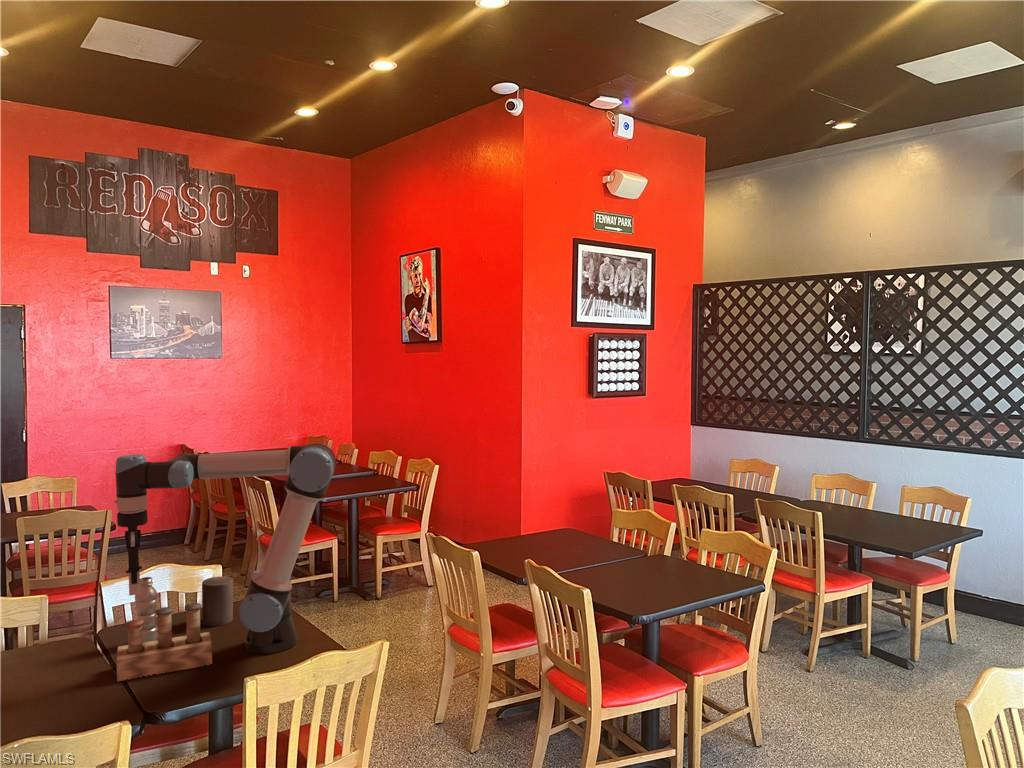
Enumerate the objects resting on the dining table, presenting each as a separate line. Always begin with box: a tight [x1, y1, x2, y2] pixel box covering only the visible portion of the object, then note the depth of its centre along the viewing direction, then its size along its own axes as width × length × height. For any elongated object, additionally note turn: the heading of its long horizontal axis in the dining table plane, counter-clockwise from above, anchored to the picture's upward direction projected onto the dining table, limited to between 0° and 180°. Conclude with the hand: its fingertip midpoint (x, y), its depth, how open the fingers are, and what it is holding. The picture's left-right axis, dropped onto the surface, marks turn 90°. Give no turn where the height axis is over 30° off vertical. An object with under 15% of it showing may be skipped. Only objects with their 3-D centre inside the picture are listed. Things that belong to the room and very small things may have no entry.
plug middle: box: [156, 606, 174, 649], centre depth 207 cm, size 4×4×11 cm
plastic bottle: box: [134, 576, 158, 642], centre depth 224 cm, size 6×7×20 cm
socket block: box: [116, 631, 213, 682], centre depth 207 cm, size 24×10×6 cm, turn 117°
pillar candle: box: [201, 575, 234, 627], centre depth 242 cm, size 10×10×15 cm
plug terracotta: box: [125, 618, 144, 654], centre depth 204 cm, size 4×4×11 cm
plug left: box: [184, 602, 202, 644], centre depth 210 cm, size 4×4×11 cm
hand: (134, 594), depth 203 cm, fingers closed
